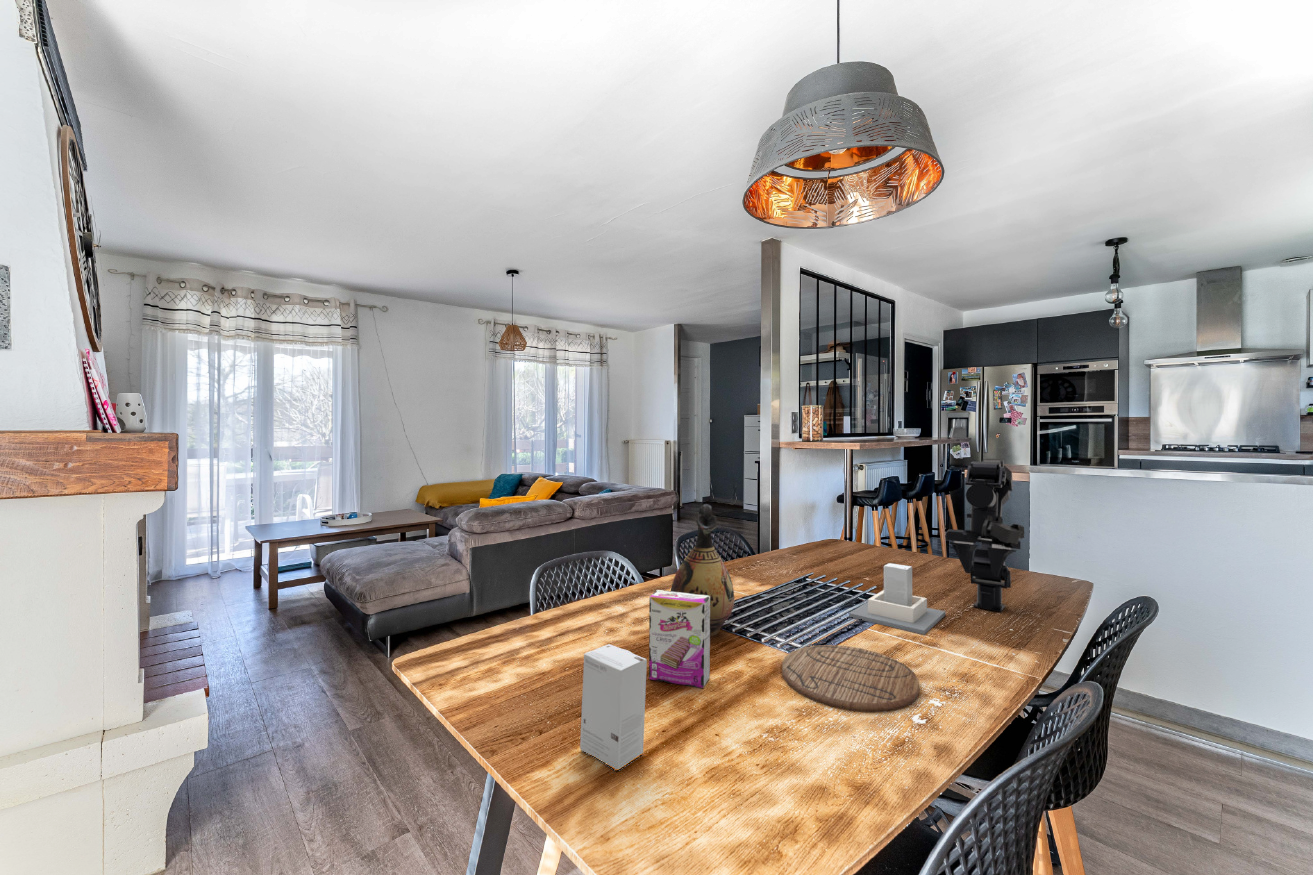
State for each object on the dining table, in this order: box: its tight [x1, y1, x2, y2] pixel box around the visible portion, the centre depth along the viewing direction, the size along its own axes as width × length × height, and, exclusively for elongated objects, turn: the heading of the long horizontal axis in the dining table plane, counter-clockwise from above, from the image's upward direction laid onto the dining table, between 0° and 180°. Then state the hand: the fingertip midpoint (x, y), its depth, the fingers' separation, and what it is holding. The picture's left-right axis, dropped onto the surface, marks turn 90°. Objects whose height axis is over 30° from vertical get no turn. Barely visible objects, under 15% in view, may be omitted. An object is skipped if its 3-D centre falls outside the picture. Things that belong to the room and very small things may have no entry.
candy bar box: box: [648, 589, 711, 689], centre depth 105 cm, size 11×5×16 cm, turn 71°
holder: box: [867, 589, 928, 623], centre depth 140 cm, size 11×11×4 cm
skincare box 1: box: [579, 643, 648, 769], centre depth 81 cm, size 8×6×15 cm
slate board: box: [848, 601, 946, 636], centre depth 140 cm, size 18×18×1 cm
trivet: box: [781, 644, 920, 713], centre depth 106 cm, size 25×25×2 cm
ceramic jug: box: [670, 503, 735, 637], centre depth 131 cm, size 17×15×30 cm
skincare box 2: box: [883, 562, 913, 607], centre depth 141 cm, size 6×4×12 cm
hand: (981, 574), depth 134 cm, fingers open, 9 cm apart
